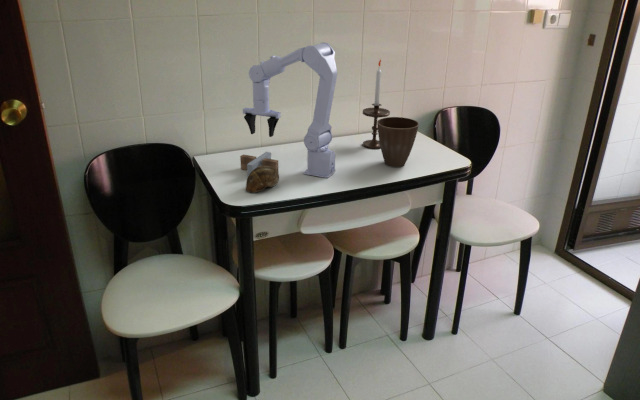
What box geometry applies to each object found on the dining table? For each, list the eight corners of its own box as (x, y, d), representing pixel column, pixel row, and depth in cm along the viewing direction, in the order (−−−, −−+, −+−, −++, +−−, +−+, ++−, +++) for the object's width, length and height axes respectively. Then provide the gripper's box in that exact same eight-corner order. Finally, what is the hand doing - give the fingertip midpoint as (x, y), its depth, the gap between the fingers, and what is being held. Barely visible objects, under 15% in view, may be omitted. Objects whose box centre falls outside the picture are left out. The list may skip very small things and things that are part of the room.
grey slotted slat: (266, 164, 188) (265, 151, 186) (271, 165, 188) (270, 152, 186) (247, 177, 177) (246, 164, 174) (252, 178, 176) (252, 165, 174)
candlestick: (388, 150, 206) (395, 61, 191) (361, 149, 206) (366, 60, 191) (385, 141, 215) (392, 56, 201) (359, 140, 215) (364, 55, 201)
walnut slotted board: (278, 173, 181) (278, 160, 179) (276, 175, 179) (275, 162, 177) (243, 167, 185) (243, 154, 183) (240, 169, 184) (240, 156, 181)
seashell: (275, 181, 174) (275, 159, 171) (282, 192, 166) (281, 169, 163) (242, 184, 171) (241, 162, 168) (247, 196, 163) (246, 172, 160)
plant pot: (382, 172, 184) (385, 129, 177) (369, 158, 197) (371, 117, 190) (420, 169, 187) (425, 127, 180) (405, 155, 200) (409, 115, 193)
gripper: (284, 98, 185) (284, 134, 191) (248, 93, 190) (250, 129, 196) (275, 102, 179) (276, 139, 185) (239, 98, 184) (240, 134, 190)
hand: (262, 134), depth 190 cm, fingers open, 7 cm apart
